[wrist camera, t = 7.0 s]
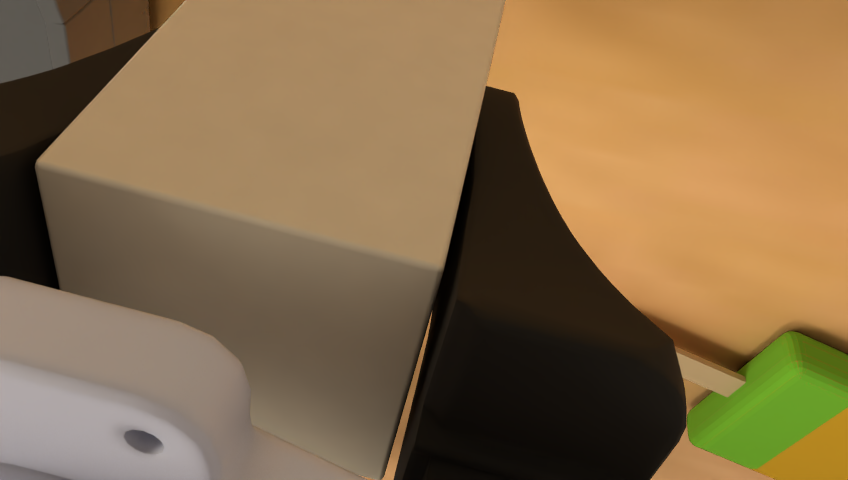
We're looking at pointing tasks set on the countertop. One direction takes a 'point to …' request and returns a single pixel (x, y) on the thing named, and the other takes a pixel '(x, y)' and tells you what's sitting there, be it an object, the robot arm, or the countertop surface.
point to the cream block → (283, 196)
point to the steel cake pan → (63, 32)
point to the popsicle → (775, 409)
